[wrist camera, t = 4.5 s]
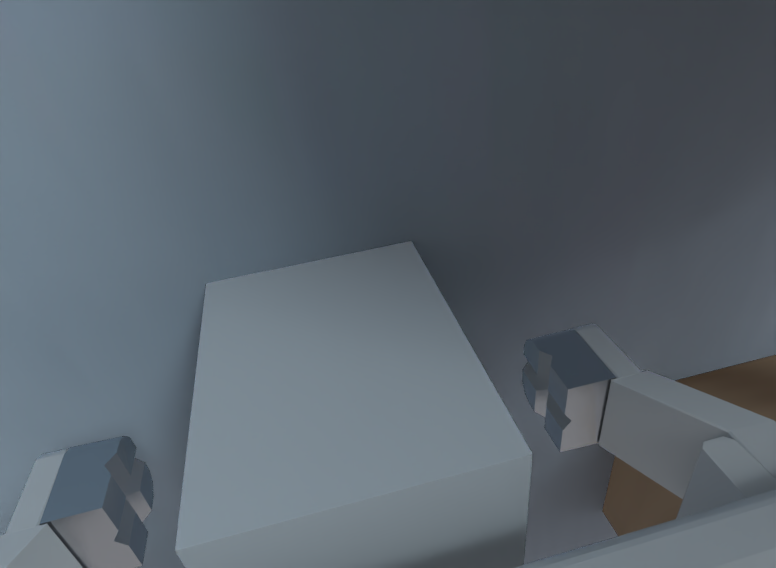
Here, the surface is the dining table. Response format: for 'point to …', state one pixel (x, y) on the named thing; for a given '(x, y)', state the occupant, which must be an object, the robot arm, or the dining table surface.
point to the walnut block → (651, 500)
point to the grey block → (347, 426)
